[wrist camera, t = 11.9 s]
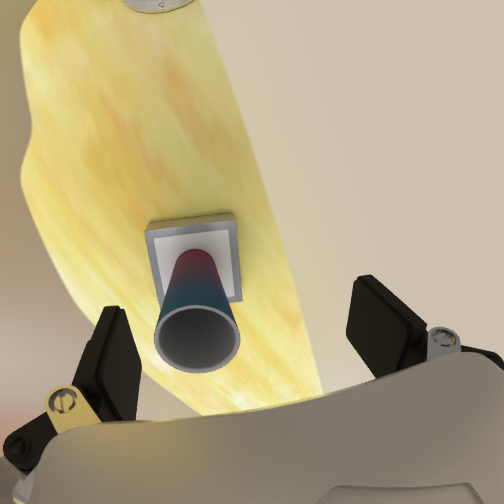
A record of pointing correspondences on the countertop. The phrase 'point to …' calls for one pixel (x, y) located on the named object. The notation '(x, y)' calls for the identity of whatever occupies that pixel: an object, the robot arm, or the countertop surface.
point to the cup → (196, 317)
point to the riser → (195, 237)
